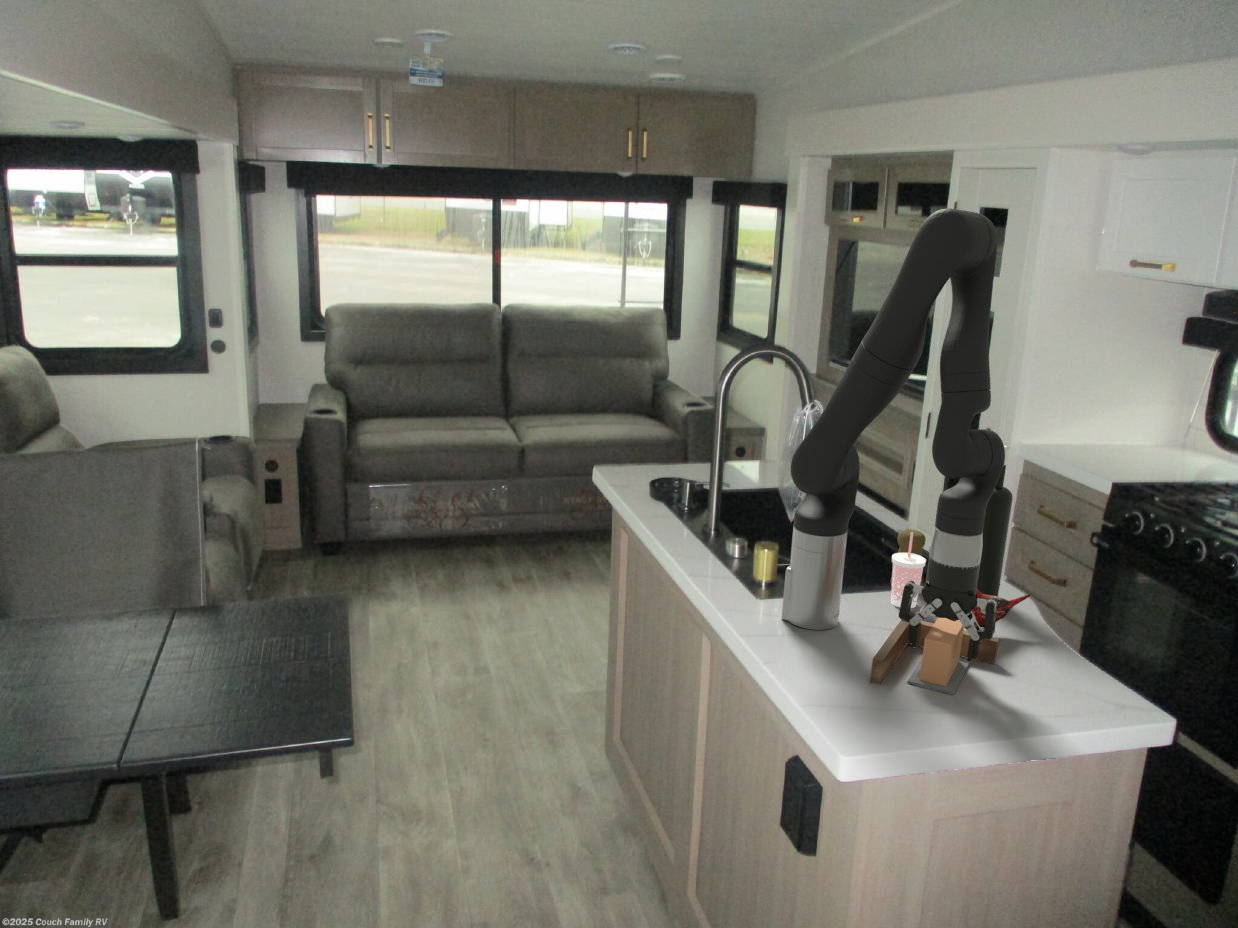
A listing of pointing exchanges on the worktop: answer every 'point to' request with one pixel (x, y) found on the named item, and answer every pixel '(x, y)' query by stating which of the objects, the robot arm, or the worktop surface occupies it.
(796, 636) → the worktop surface
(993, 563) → the wine bottle
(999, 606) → the decorative bird figurine
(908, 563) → the beverage cup
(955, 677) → the slate pad
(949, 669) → the terracotta block
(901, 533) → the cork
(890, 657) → the walnut corner
